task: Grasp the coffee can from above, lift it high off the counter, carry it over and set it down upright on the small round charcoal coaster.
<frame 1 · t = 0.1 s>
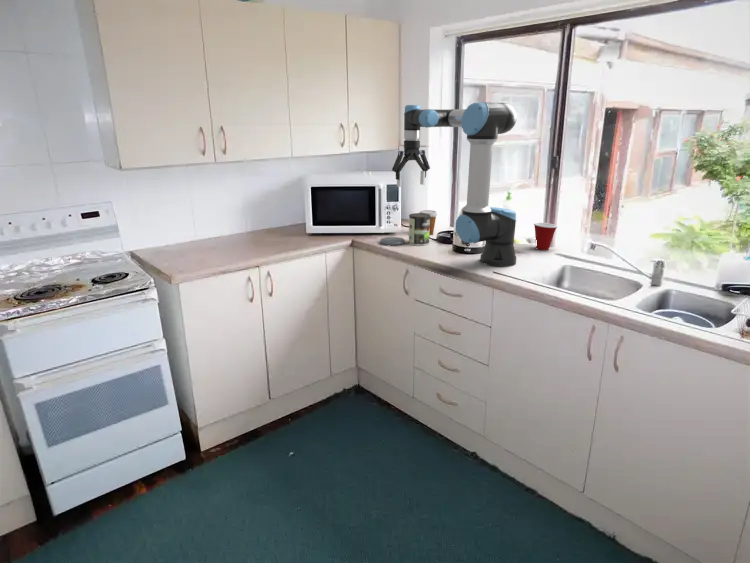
hand: (410, 185, 242), 28 cm above the worktop, tool pointing down, fingers open, 13 cm apart
disposable coffee cup: (427, 234, 266), on the worktop
coffee can: (418, 243, 248), on the worktop
plastic cup: (542, 249, 238), on the worktop
coaster: (392, 242, 248), on the worktop
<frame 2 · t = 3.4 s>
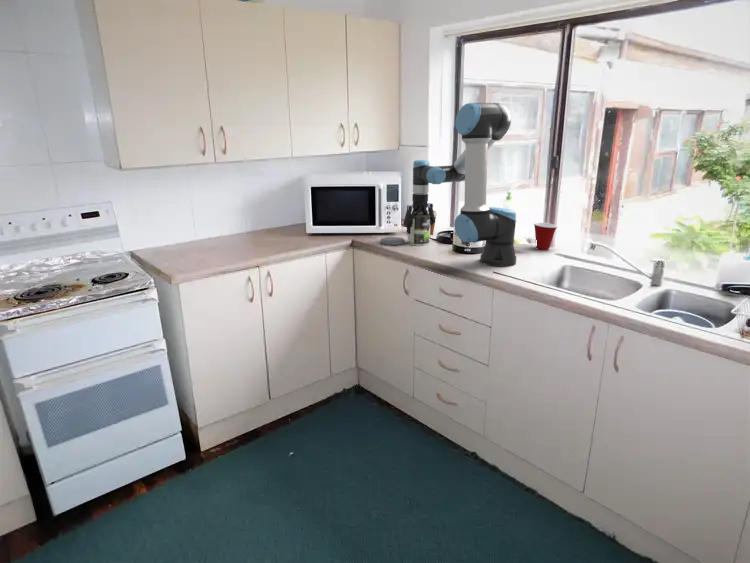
hand: (419, 238, 247), 2 cm above the worktop, tool pointing down, fingers closed on coffee can, 10 cm apart
coffee can: (418, 243, 248), on the worktop, touching gripper
everything else where it was.
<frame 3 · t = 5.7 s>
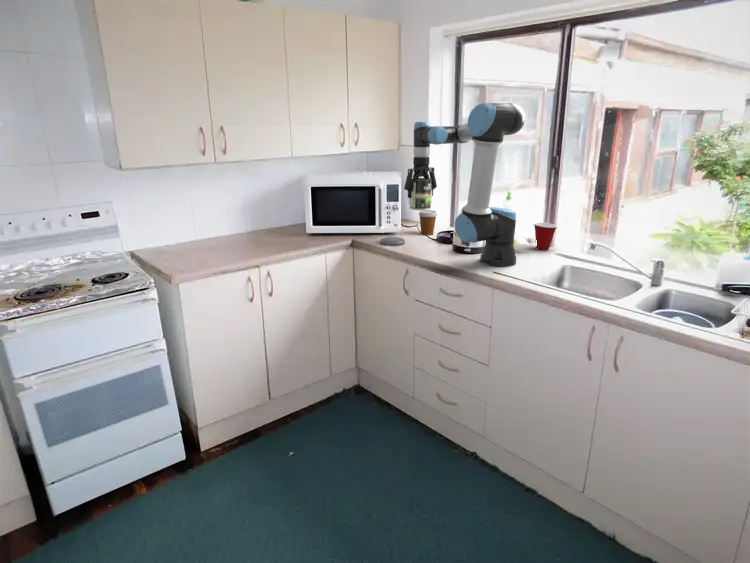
hand: (420, 203, 241), 20 cm above the worktop, tool pointing down, fingers closed on coffee can, 10 cm apart
coffee can: (420, 209, 242), point 17 cm above the worktop, touching gripper
everything else where it was.
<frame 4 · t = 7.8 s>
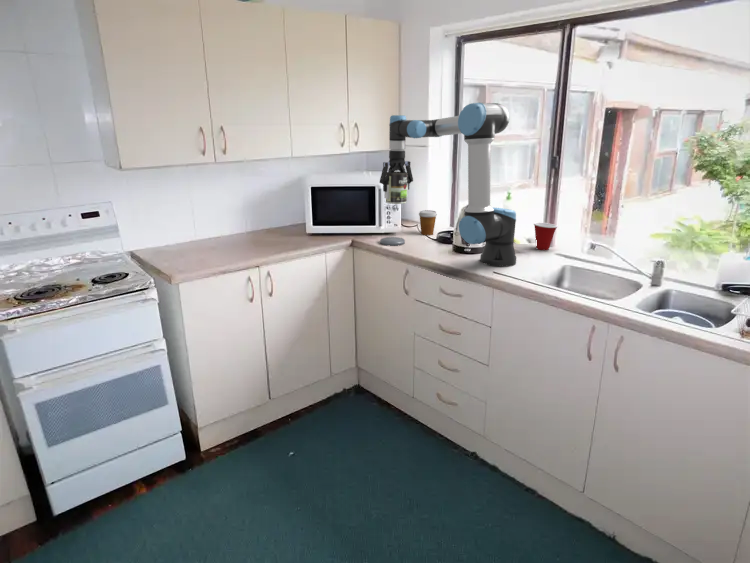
hand: (396, 197, 241), 22 cm above the worktop, tool pointing down, fingers closed on coffee can, 10 cm apart
coffee can: (396, 202, 242), point 20 cm above the worktop, touching gripper
everything else where it was.
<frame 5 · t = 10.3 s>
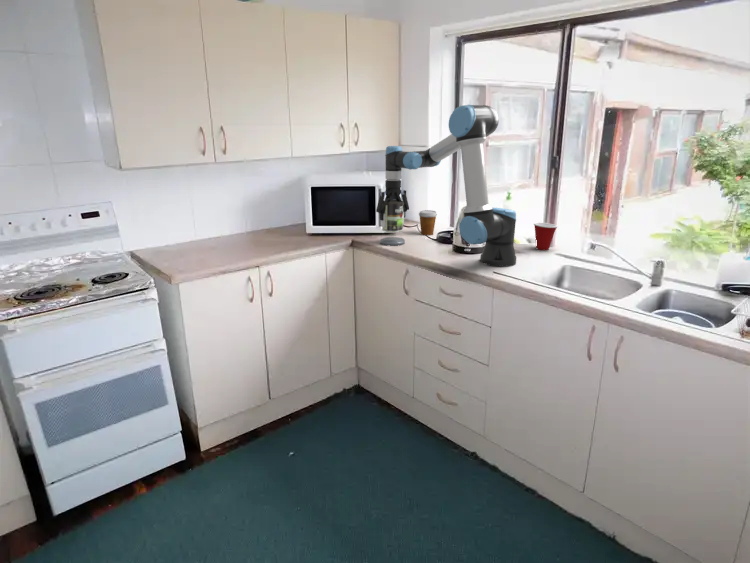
hand: (392, 225, 246), 9 cm above the worktop, tool pointing down, fingers closed on coffee can, 10 cm apart
coffee can: (392, 230, 246), point 6 cm above the worktop, touching gripper
everything else where it was.
when the fingers open (5 cm above the worktop, at t = 12.2 s): coffee can stays where it is, resting on coaster.
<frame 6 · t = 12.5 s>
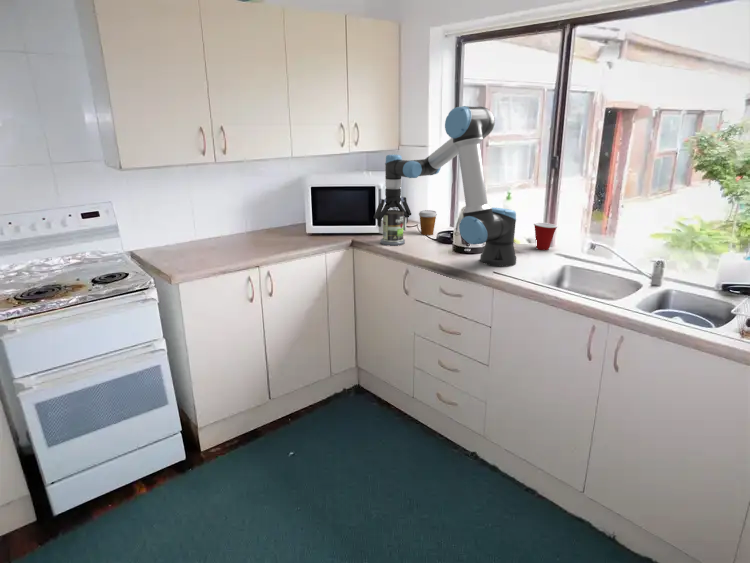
hand: (392, 231, 246), 6 cm above the worktop, tool pointing down, fingers open, 13 cm apart
coffee can: (392, 240, 248), point 1 cm above the worktop, touching coaster
everything else where it was.
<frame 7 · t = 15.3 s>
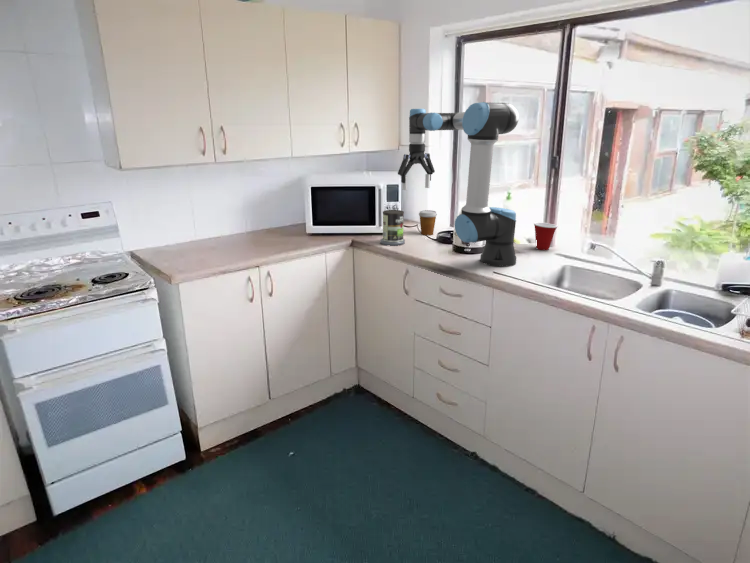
hand: (416, 188, 242), 26 cm above the worktop, tool pointing down, fingers open, 13 cm apart
nothing on the worktop moved.
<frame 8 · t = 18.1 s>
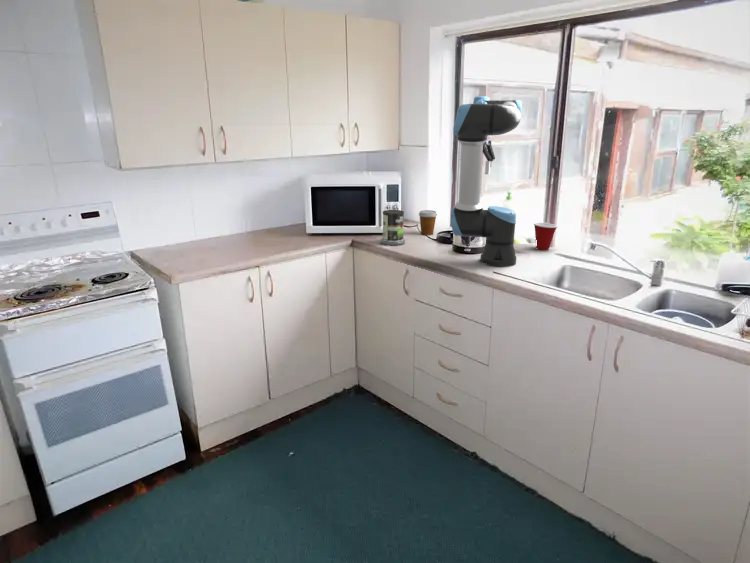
hand: (476, 175, 249), 32 cm above the worktop, tool pointing down, fingers open, 13 cm apart
nothing on the worktop moved.
at the end: coffee can inside the target area on the coaster (0.2 cm from its centre), point 1.3 cm above the coaster's base; coffee can tilted 0°; the gripper is holding nothing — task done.
